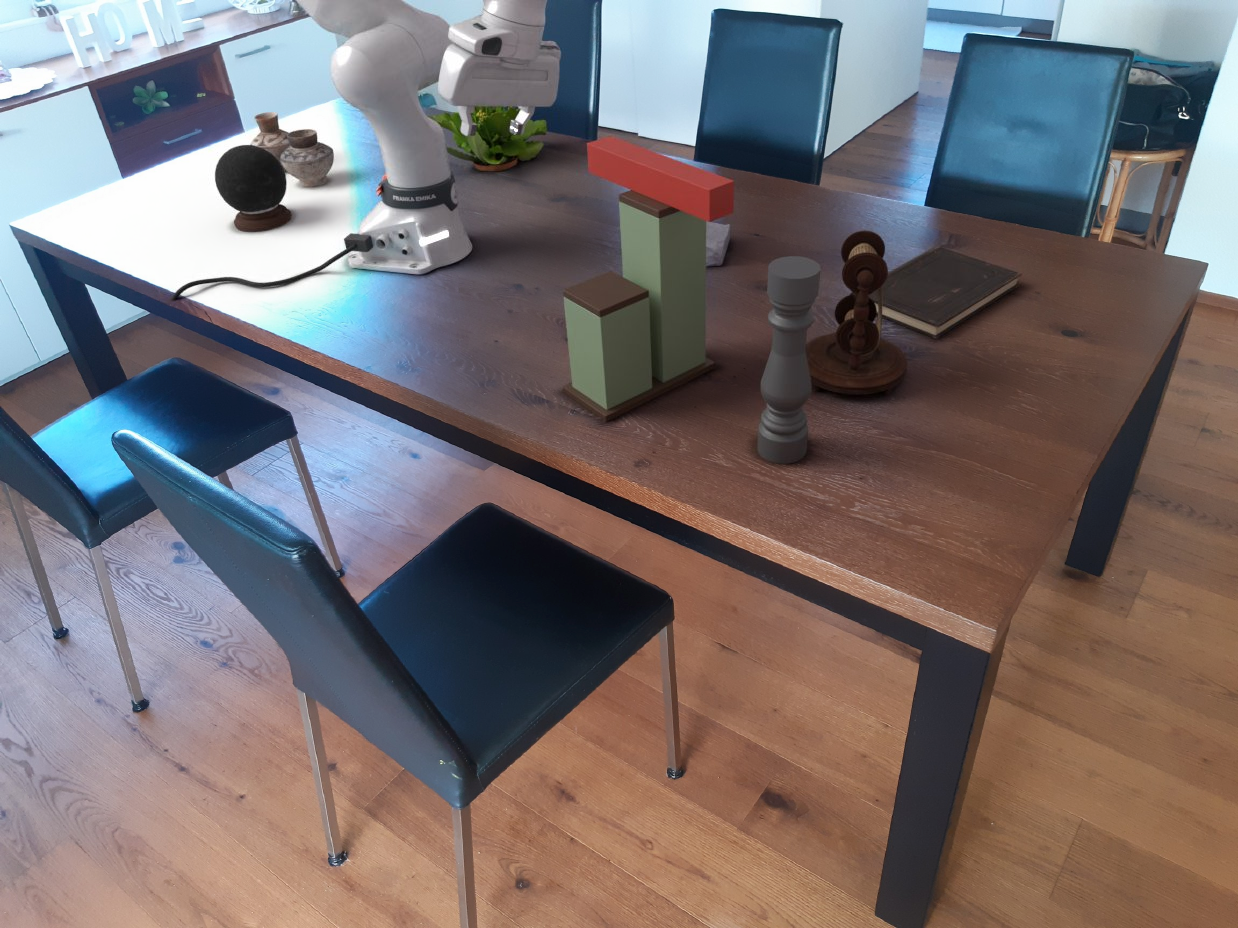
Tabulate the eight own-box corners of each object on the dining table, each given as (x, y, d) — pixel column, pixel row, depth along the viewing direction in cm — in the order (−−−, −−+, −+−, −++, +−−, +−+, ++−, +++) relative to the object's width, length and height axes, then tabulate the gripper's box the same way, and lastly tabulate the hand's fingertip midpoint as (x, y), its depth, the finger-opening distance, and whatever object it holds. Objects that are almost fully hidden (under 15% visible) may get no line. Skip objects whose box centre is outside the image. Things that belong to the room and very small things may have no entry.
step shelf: (562, 392, 129) (543, 216, 113) (669, 342, 138) (666, 173, 122) (606, 422, 122) (592, 240, 106) (715, 368, 132) (717, 193, 116)
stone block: (670, 275, 160) (727, 266, 157) (665, 249, 157) (721, 240, 154) (681, 248, 169) (734, 240, 166) (675, 224, 167) (729, 215, 164)
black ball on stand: (215, 230, 183) (190, 155, 173) (258, 205, 192) (236, 133, 183) (268, 237, 178) (245, 161, 169) (310, 211, 188) (290, 138, 179)
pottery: (290, 158, 215) (276, 105, 208) (350, 180, 201) (337, 125, 194) (247, 172, 209) (230, 118, 202) (305, 196, 195) (290, 139, 188)
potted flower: (541, 183, 193) (532, 98, 183) (430, 189, 194) (415, 104, 184) (549, 144, 213) (541, 65, 202) (449, 149, 214) (436, 71, 203)
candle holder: (752, 437, 118) (760, 257, 103) (799, 432, 118) (814, 253, 103) (762, 466, 113) (772, 282, 98) (812, 461, 113) (829, 277, 98)
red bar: (588, 172, 124) (586, 143, 122) (611, 165, 126) (610, 136, 123) (709, 222, 109) (709, 190, 106) (733, 213, 111) (734, 180, 108)
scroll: (908, 406, 122) (931, 268, 109) (795, 400, 124) (806, 265, 112) (901, 349, 133) (921, 219, 121) (798, 345, 135) (808, 217, 123)
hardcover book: (1018, 286, 146) (1021, 273, 145) (936, 339, 135) (938, 325, 133) (931, 257, 156) (934, 244, 155) (847, 304, 145) (849, 291, 143)
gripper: (549, 35, 138) (530, 125, 146) (439, 25, 124) (425, 126, 132) (576, 49, 135) (556, 141, 143) (467, 41, 121) (451, 143, 129)
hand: (492, 134), depth 137 cm, fingers open, 8 cm apart
